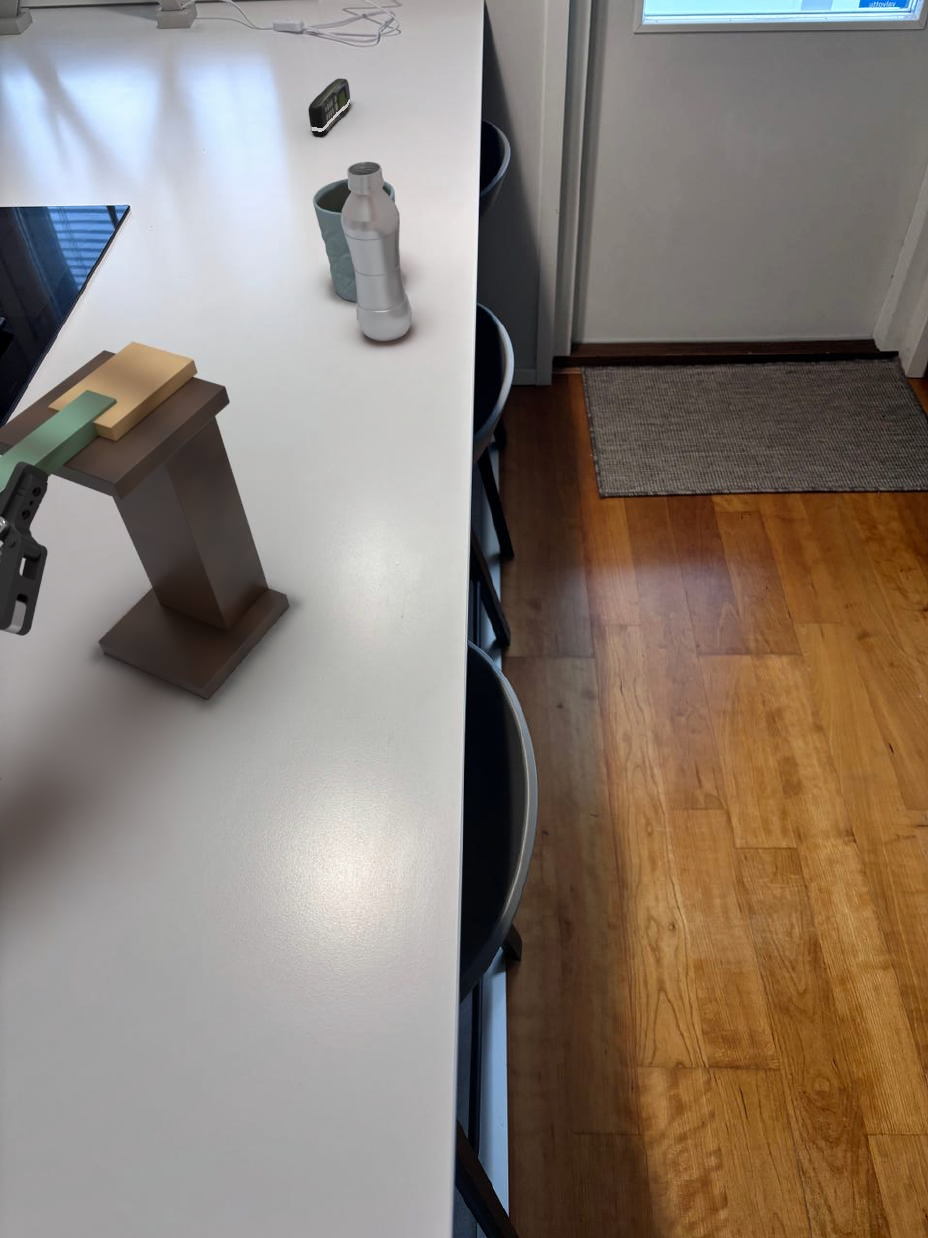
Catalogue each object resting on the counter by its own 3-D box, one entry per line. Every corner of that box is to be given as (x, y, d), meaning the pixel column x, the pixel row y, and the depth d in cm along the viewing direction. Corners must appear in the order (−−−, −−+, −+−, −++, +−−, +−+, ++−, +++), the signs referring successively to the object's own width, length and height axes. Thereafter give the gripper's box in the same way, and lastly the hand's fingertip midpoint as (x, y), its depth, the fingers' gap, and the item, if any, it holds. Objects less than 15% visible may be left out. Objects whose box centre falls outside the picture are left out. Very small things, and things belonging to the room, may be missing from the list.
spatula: (-9, 546, 59) (-20, 529, 58) (-74, 519, 62) (-86, 502, 60) (198, 372, 71) (192, 355, 70) (137, 354, 73) (131, 337, 72)
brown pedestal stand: (208, 699, 81) (114, 483, 63) (103, 652, 85) (-13, 437, 67) (289, 605, 88) (225, 385, 70) (188, 566, 92) (104, 349, 74)
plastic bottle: (413, 346, 115) (394, 179, 100) (357, 349, 115) (330, 183, 100) (414, 317, 119) (396, 153, 104) (361, 320, 119) (335, 157, 104)
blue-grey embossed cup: (351, 313, 121) (336, 221, 112) (314, 281, 126) (297, 191, 117) (419, 287, 124) (409, 195, 115) (380, 257, 130) (368, 168, 121)
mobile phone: (320, 107, 154) (353, 70, 163) (303, 106, 154) (336, 69, 163) (326, 139, 158) (357, 101, 167) (309, 138, 158) (341, 100, 167)
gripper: (-133, 671, 66) (-25, 451, 68) (12, 747, 61) (125, 507, 63) (-238, 649, 59) (-115, 404, 61) (-84, 733, 54) (46, 463, 56)
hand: (6, 458), depth 62 cm, fingers open, 4 cm apart
